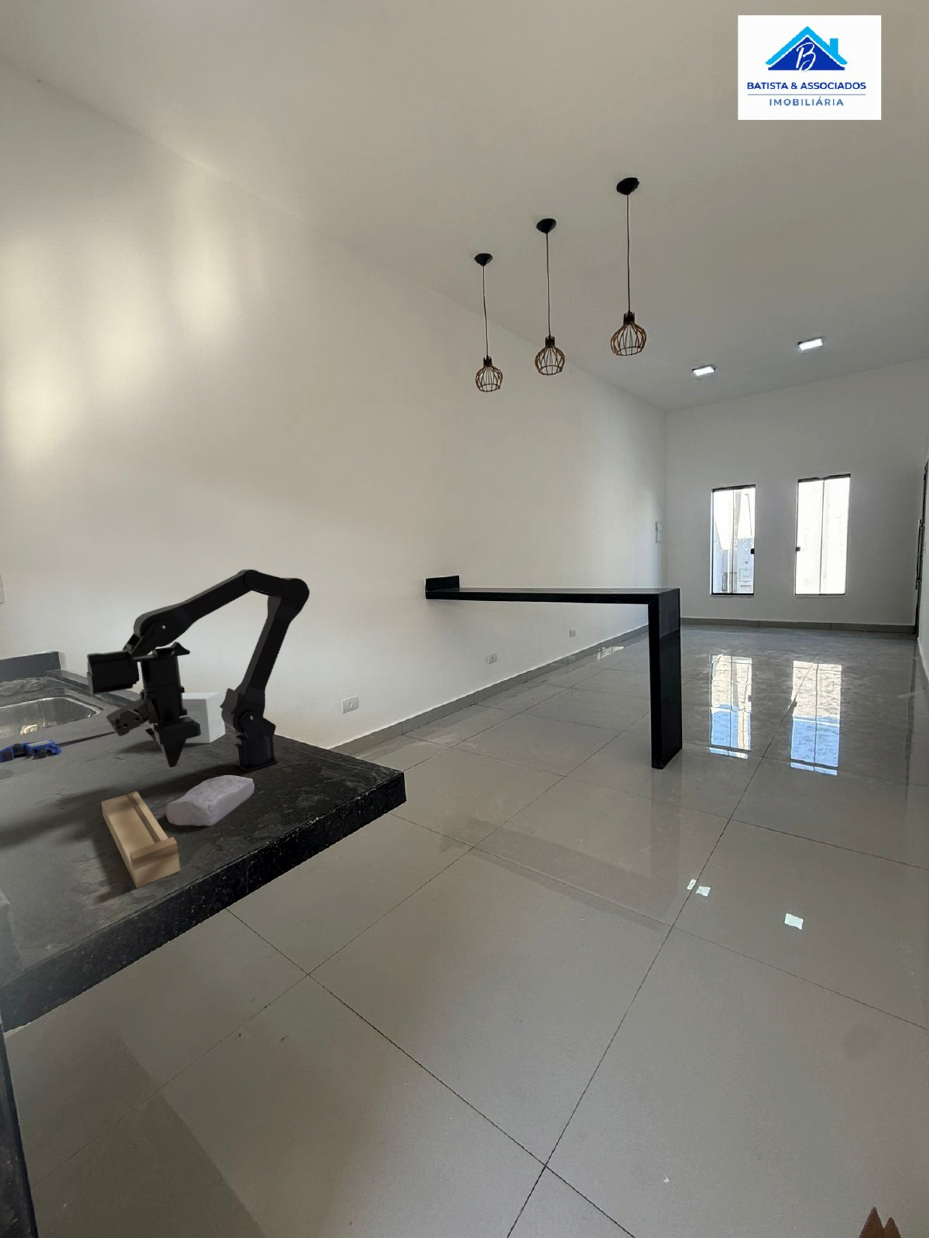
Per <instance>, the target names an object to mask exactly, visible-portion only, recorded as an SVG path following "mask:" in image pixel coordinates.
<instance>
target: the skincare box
mask: <svg viewBox="0 0 929 1238" xmlns="http://www.w3.org/2000/svg"><path fill="white" fill-rule="evenodd" d="M182 698H183V706H184V708H186V709H187V714H188V715H185V716H180V718H183V717H187V716H188V717H190V718H192V719H193V720H195V721H196V722H198V723H199V724H200V729H201V735H199V736H197V737H193V738H189V739H186V742H185V744H211V743H213V742H214V741H216V740H218V739H219V738H221V737H222V736H225V735H226V724H225V722H224V721H223V719H222V717H221V712H222V708H220V705H221V704H222V703H223V699H222V698H223V697H222V692H185V693H182Z"/></svg>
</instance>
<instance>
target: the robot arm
mask: <svg viewBox="0 0 929 1238" xmlns="http://www.w3.org/2000/svg"><path fill="white" fill-rule="evenodd" d="M310 591H311V590H310V588H309V586H308V584H307V583H306V582H305V581H304V580H303V579H301V578H297V577H279V576H275V575H272V574H269V573H268V574H267V573H263V572H261V571H259V570H256V569H252V568H251V569H249V568H247V569H241V570H239V571H238V572H237V573H236V574H234V575H232V576H230V577H229V578H226V579H224V580H222V581H221V582H219V583H217V584H215V585H213V586H210V587H209V588H207V589H205V590H203V591H201V592H199V593H197V594H195V595H193V596H191V597H190V598H187V599H185V600H183V601H181V602H178V603H175V604H171V605H167V606H163V607H159V608H156V609H152V610H150V611H147V612H144V613H142V614H140V615H139V616H137V617H136V619H135V620H134V624H133V627H132V628H133V629H132V630H133V633H132V635H131V636H130V637H129V639H128V640H127V641H126V643H125V645H124V646H123V647H122V650H119V651H118V650H117V651H110V652H95V653H88V654H87V655H86V658H87V671H86V679H87V684H88V689H89V692H90V695H91V696H98V695H103V694H110V693H114V692H120V691H125V690H132V689H133V688H134V685H137V684H138V683H137V682H140V672H141V679H142V687H143V688H142V689H141V691H139V699H137V700H135V701H132V702H130V703H128V704H126V705H124V706H122V707H120V708H118V709H117V710H114V711H113V712H111V713H109V714H108V715H106V717H105V718H106V720H107V721H108V722H109V724H110V726H111V727H112V729H113V731H115V732H116V733H115V734H117V736H118V737H123V736H126V735H127V734H129V733H130V731H132V730H133V729H136V727H137V728H139V726H140V725H145V723H146V722H148V724H149V728H146V729H144V732H146V734H147V735H149V736H150V737H151V738H152V740H154V741H155V742H157V743H158V744H159V746H160V748H161V749H160V750H161V751H162V753H163V756H164V758H165V761H166V763H167V766H168V767H169V768H173V767H176V766H177V764H178V762H179V760H180V757H181V754H182V751H183V749H184V746H185V745H186V743H185V742H186V739H189V738H193V737H197V736H199V735H201V729H200V724H199V723H198V722H196V721H195V720H193V719H192V718H190V717H188V716H187V717H183V718H180V716H185V715H188V714H187V709H186V708H184V706H183V698H182V693H186V692H185V691H186V690H185V687H184V686H183V685H182V683H181V675H180V674H181V673H180V665H179V657H181V656H182V657H183V656H186V655H187V656H188V655H190V654H191V651H190V650H189V649H188V648H185V647H184V646H183V645H182V644H181V642H179V641H175V640H177V639H178V638H180V636H182V635H183V634H185V633H186V632H187V631H188V630H189V629H190V627H192V626H193V625H194V624H195V623H197V621H199V620H201V619H203V618H205V617H206V616H207V615H209V614H211V613H214V612H215V611H217V610H219V609H221V608H223V607H224V606H226V605H228V604H229V603H232V602H233V601H235V600H237V599H239V598H241V597H243V596H245V595H246V594H248V593H250V592H253V593H258V594H261V595H264V596H268V597H267V601H266V603H267V604H266V606H267V607H266V608H267V609H266V610H267V616H266V619H265V621H264V624H263V627H262V629H261V632H260V635H259V638H258V640H257V642H256V645H255V647H254V649H253V652H252V655H251V658H250V660H249V663H248V665H247V667H246V670H245V674H244V676H243V678H242V679H241V682H240V683H239V684H238V686H236V688H235V689H232V688H230V687H228V688H226V691H225V697H224V700H222V704H221V705H220V708H222V712H221V717H222V719H223V721H224V724H225V725H226V726H228V727H230V728H231V729H232V730H233V731H234V733H237V734H238V735H235V742H236V743H234V744H233V749H234V750H233V751H234V762H235V765H237V766H238V767H239V768H240V769H242V770H243V771H244V772H247V773H249V772H251V771H255V770H258V769H261V768H264V767H268V766H271V765H274V764H277V763H279V759H278V758H277V757H276V755H275V744H274V735H275V732H276V728H277V726H276V724H275V723H273V722H272V721H270V720H269V719H267V718H265V717H264V715H265V710H266V688H267V685H268V683H269V680H270V678H271V675H272V673H273V669H274V667H275V664H276V661H277V659H278V657H279V653H280V651H281V648H282V646H283V643H284V640H285V638H286V636H287V633H288V631H289V628H290V625H291V623H292V622H293V621H294V619H295V618H296V617H297V616H298V615H299V614H300V613H301V612H302V610H303V609H304V606H305V605H306V603H307V601H308V599H309V597H310V593H311V592H310ZM166 646H167V647H166ZM138 663H139V664H140V665H139V666H140V669H139V666H138Z"/></svg>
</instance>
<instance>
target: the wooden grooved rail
mask: <svg viewBox="0 0 929 1238" xmlns="http://www.w3.org/2000/svg"><path fill="white" fill-rule="evenodd" d="M100 804H101V809H102V816H103V818H104V821H105V823H106V825H107V827H108V831H110V834H111V837H113V840H114V843H115V844H116V846H117V849H118V851H119V853H120V855H121V858H122V859H123V861H124V864H125V866H126V868H127V871H128V872H129V875H130V877H131V879H132V881H133V883H134V886H135V887H136V889H139V888H141V887H143V886H147V885H148V884H151V883H154V882H155V881H158V880H160V879H163V878H165V877H168V876H170V875H173V874H175V873H177V872H180V871H181V865H180V864H181V863H180V857H179V849H178V842H177V841H176V839H175V838H174V836H171V837H168V836H167V833H165V831H164V830H163V828H162V827H161V825H160V824H159V822H158V820H157V819H156V818H155V816H154V815H153V813H152V811H151V810H150V808H149V807H148V806H147V804H146V803H145V801H144V800H143V798H142V797H141V795H140V794H139V792H138V791H132V792H129V793H127V794H123V795H119V796H116V797H113V798H108V799H106V800H103V801H101V803H100Z"/></svg>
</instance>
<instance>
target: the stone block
mask: <svg viewBox="0 0 929 1238" xmlns="http://www.w3.org/2000/svg"><path fill="white" fill-rule="evenodd" d="M254 791H255V784H254V782H253V778H248V777H244V776H238V775H229V774H228V775H227V774H226V775H225V774H224V775H220V776H215V777H212V778H209V779H206V780H204V781H201V782H200V783H199V784H198V785H195V786H193V787H192V788H191V789H189V790H188V791H187V792H186V793H185V794H184V795H183V796H181V797H180V798H177V799H176V800H173V801H172V802H169V803H167V804H166V807H165V815H166V818H167V821H168V823H169V824H173V825H177V826H196V827H200V826H205V827H212V826H213V825H216V824H217V823H218V822H219V821H221V820H222V819H223V818H225V817H226V816H228V815H229V813H231V812H233V811H234V810H235V809H236V808H237V807H239V806H240V805H241V804H242V803H244V802H246V801H247V800H248V799H249V798H251V796H252V795H253V794H254Z"/></svg>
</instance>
